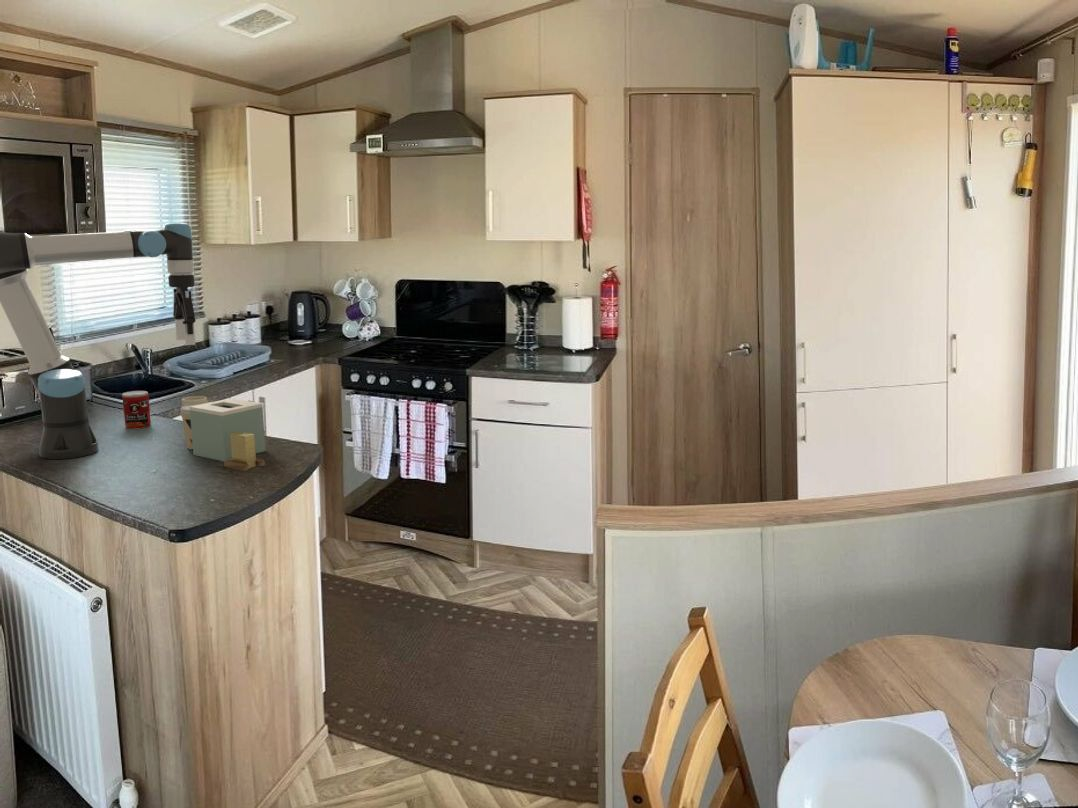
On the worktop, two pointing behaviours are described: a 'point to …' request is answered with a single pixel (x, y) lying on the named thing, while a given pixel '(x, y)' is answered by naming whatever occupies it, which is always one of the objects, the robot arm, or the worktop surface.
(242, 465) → the holder
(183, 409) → the coffee cup
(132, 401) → the canned food
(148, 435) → the worktop surface
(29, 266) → the robot arm
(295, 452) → the worktop surface
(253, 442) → the yellow wooden block
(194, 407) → the green cube box
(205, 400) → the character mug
